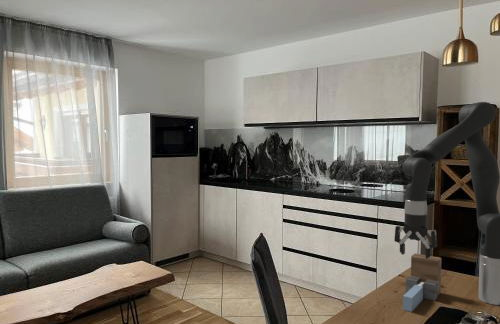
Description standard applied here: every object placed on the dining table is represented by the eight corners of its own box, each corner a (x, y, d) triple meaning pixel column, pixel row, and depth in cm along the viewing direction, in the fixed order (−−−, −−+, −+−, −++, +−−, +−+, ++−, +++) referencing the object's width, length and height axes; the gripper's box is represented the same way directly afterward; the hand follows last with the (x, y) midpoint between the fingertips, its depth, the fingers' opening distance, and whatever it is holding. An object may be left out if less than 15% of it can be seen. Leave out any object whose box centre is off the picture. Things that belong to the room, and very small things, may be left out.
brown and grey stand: (413, 286, 159) (414, 253, 158) (441, 292, 152) (442, 258, 152) (405, 293, 151) (406, 258, 151) (434, 300, 145) (435, 264, 144)
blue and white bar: (418, 293, 152) (418, 281, 151) (426, 295, 150) (426, 283, 150) (402, 309, 137) (403, 295, 137) (411, 312, 135) (411, 298, 135)
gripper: (439, 213, 139) (438, 257, 139) (399, 208, 148) (398, 250, 148) (434, 216, 133) (433, 262, 134) (392, 211, 142) (391, 254, 143)
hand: (414, 256), depth 141 cm, fingers open, 8 cm apart
